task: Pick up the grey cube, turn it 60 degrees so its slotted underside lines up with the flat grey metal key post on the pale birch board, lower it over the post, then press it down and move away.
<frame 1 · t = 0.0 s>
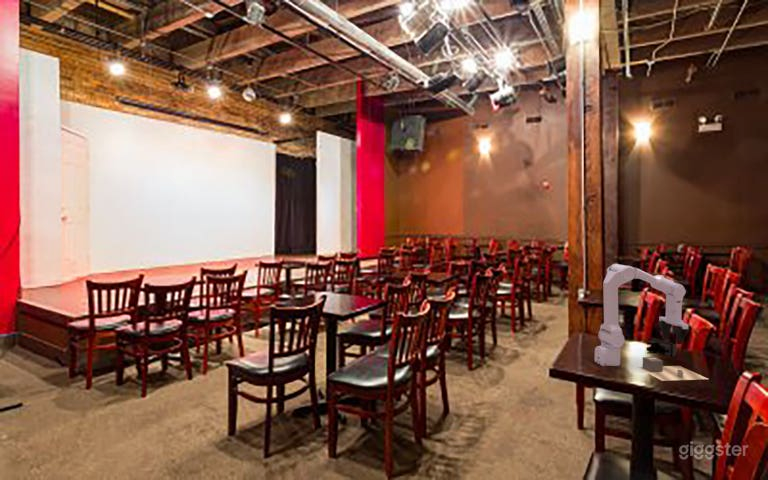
hand: (672, 341, 187), 10 cm above the table, tool pointing down, fingers open, 7 cm apart
key post: (680, 375, 170), resting on board
grey cube: (652, 369, 177), point 1 cm above the table, touching board
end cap: (660, 355, 200), on the table
board: (671, 376, 173), on the table
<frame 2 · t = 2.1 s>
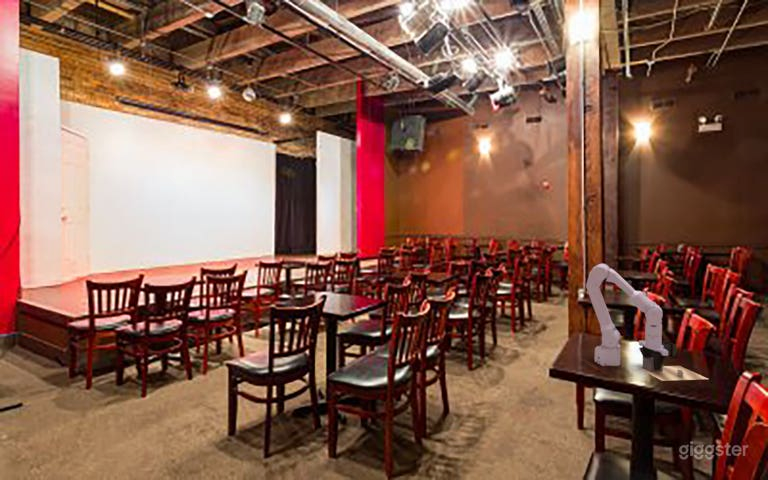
hand: (652, 367, 177), 2 cm above the table, tool pointing down, fingers closed on grey cube, 5 cm apart
grey cube: (652, 369, 177), point 2 cm above the table, touching board, gripper
everything else where it was.
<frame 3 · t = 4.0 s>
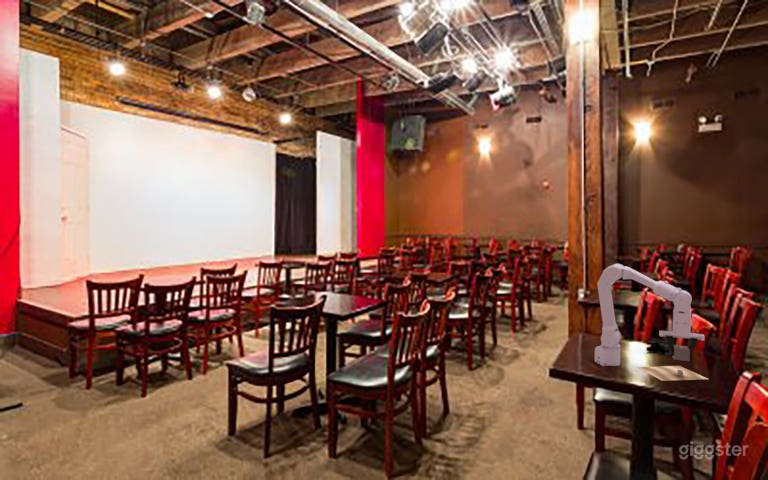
hand: (680, 356, 169), 9 cm above the table, tool pointing down, fingers closed on grey cube, 5 cm apart
grey cube: (680, 358, 169), point 8 cm above the table, touching gripper
everything else where it was.
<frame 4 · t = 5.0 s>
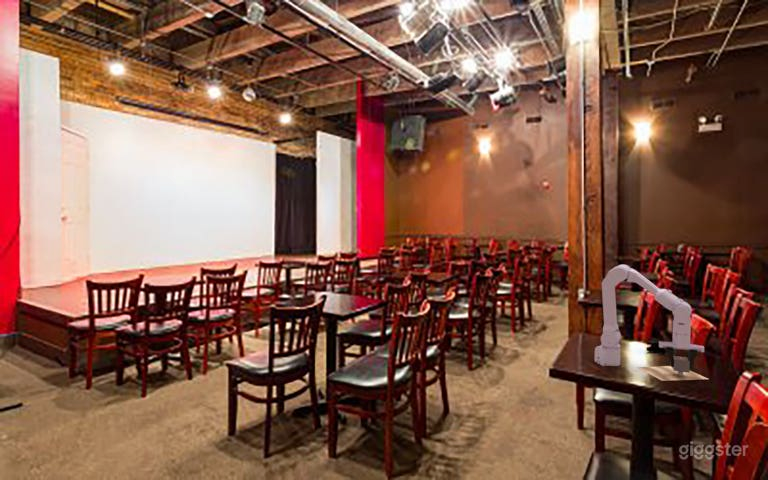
hand: (680, 367, 170), 5 cm above the table, tool pointing down, fingers closed on grey cube, 5 cm apart
grey cube: (680, 369, 170), point 4 cm above the table, touching gripper
everything else where it was.
when the fingers open (3 cm above the table, at t = 5.9 s): grey cube stays where it is, resting on board.
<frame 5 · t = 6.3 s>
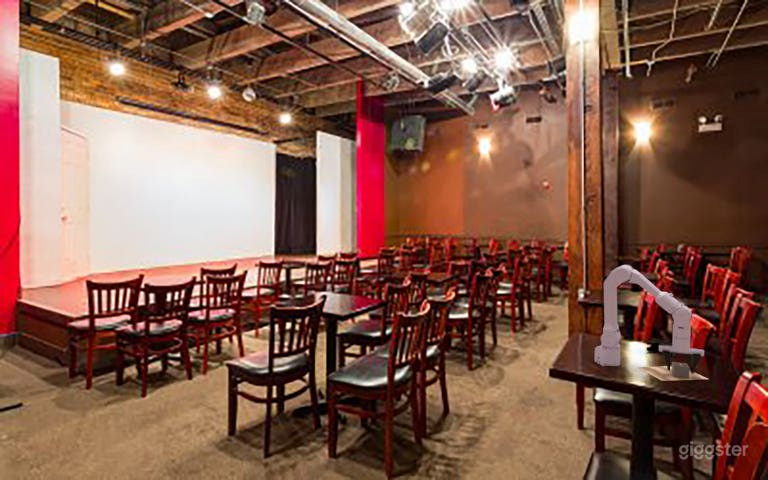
hand: (680, 371, 170), 3 cm above the table, tool pointing down, fingers open, 7 cm apart
grey cube: (680, 375, 170), point 1 cm above the table, touching board
everything else where it was.
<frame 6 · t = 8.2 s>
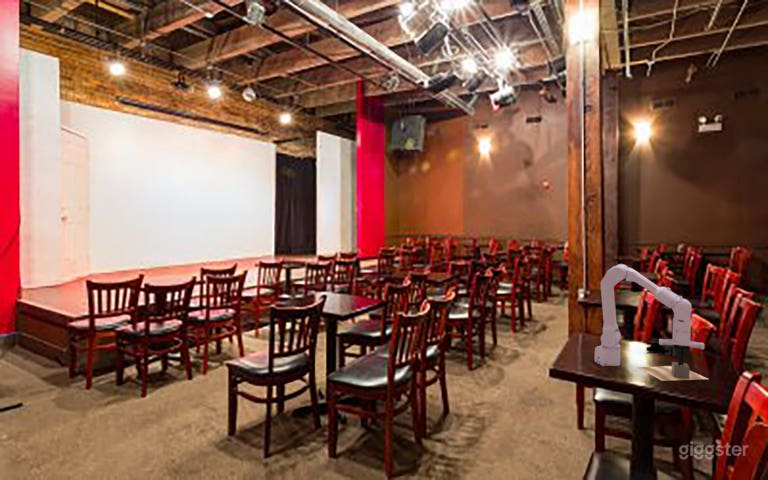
hand: (680, 364, 169), 6 cm above the table, tool pointing down, fingers closed, pressing on grey cube
grey cube: (680, 375, 170), point 1 cm above the table, touching board, gripper
everything else where it was.
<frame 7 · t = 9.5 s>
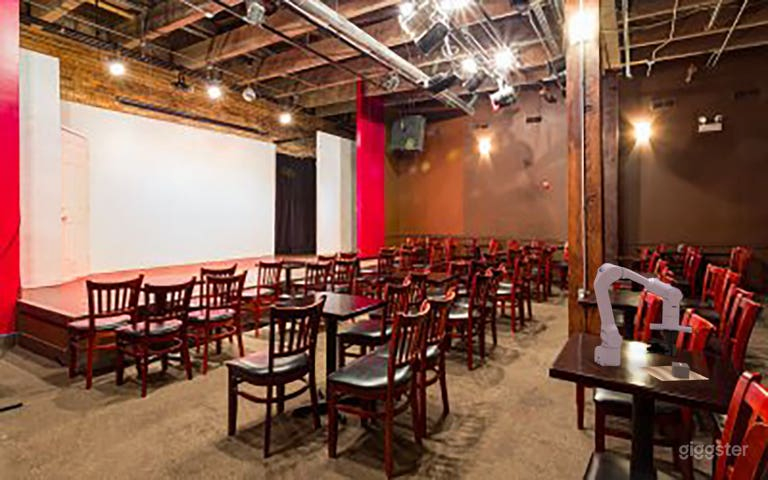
hand: (669, 347, 181), 9 cm above the table, tool pointing down, fingers closed
grey cube: (680, 375, 170), point 1 cm above the table, touching board
everything else where it was.
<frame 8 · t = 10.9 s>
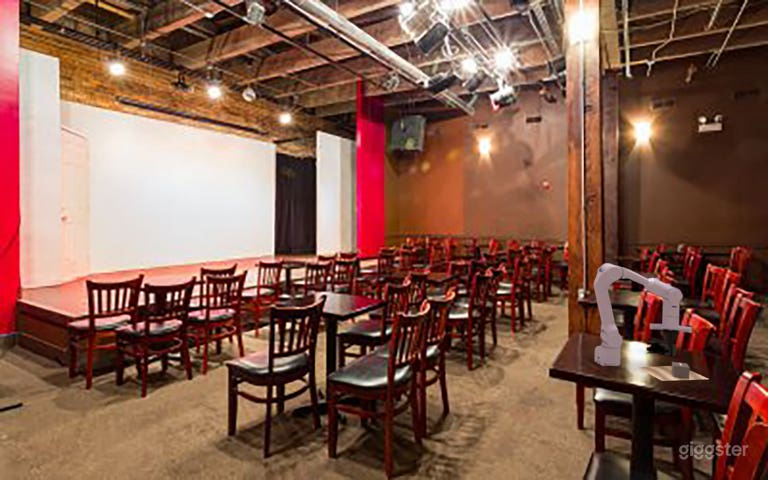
hand: (669, 347, 181), 9 cm above the table, tool pointing down, fingers closed
nothing on the table moved.
at the end: grey cube 0.1 cm from the key post (horizontally); grey cube point 1.5 cm above the table; grey cube tilted 0° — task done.
